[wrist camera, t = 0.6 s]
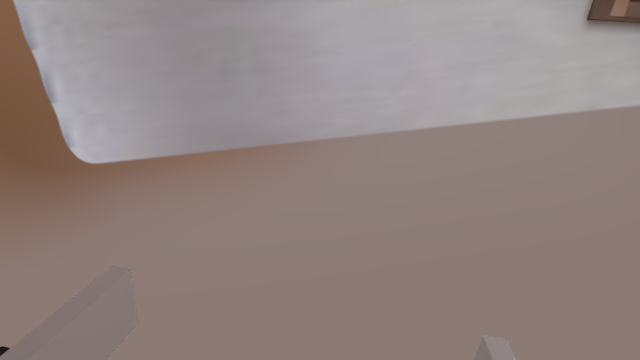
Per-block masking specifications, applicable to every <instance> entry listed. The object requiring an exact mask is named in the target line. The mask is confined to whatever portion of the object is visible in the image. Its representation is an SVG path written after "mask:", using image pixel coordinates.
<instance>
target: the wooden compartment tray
mask: <svg viewBox="0 0 640 360" xmlns="http://www.w3.org/2000/svg"><path fill="white" fill-rule="evenodd" d="M588 19H590V20H606V21H621V22H637V23H640V0H594V1H593V4H592V7H591V10H590V13H589V16H588Z"/></svg>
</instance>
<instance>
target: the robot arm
mask: <svg viewBox="0 0 640 360" xmlns="http://www.w3.org/2000/svg"><path fill="white" fill-rule="evenodd" d="M137 324H138V317H137V310H136V303H135V296H134V289H133V282H132V276H131V269H128V268H123V267H118V266H111V267H110V268H109V269H108V270H106V271H105V272H104V273H103V274H102V275H100V276H99V277H98V278H96V279H95V280H94V281H93V282H91V283H90V284H89V285H88V286H87V287H85V288H84V289H83V290H82V291H80V292H79V293H78V294H77V295H76V296H74V297H73V298H72V299H70V300H69V301H68V302H67V303H65V304H64V305H63V306H62V307H61V308H59V309H58V310H57V311H56V312H54V313H53V314H52V315H51V316H50V317H48V318H47V319H46V320H45V321H43V322H42V323H41V324H40V325H38V326H37V327H36V328H35V329H33V330H32V331H31V332H30V333H29V334H27V335H26V336H25V337H24V338H22V339H21V340H20V341H19V342H17V343H16V344H15V345H14V346H12V347H11V348H7V347H3V346H2V347H0V360H107V359H108V358H109V356H110V355H111V354H112V353H113V352H114V351H115V350H116V348H117V347H118V346H119V345H120V344H121V343H122V342H123V340H124V339H125V338H126V337H127V336H128V335H129V333H130V332H131V331H132V330H133V329H134V328H135V327H136V326H137ZM474 360H516V359H515V357H514V355H513V353H512V351H511V349H510V347H509V345H508V342H507V340H506V339H500V338H495V337H490V336H485V335H483V337H482V339H481V342H480V345H479V347H478V350H477V352H476V355H475V358H474Z"/></svg>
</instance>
